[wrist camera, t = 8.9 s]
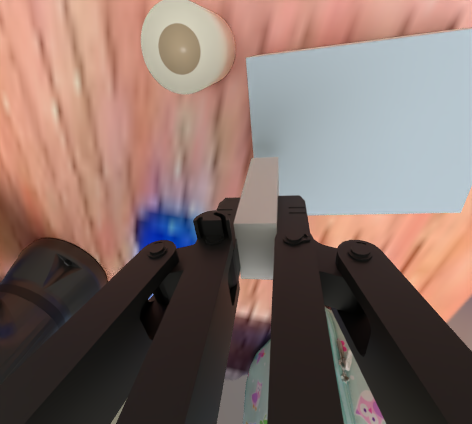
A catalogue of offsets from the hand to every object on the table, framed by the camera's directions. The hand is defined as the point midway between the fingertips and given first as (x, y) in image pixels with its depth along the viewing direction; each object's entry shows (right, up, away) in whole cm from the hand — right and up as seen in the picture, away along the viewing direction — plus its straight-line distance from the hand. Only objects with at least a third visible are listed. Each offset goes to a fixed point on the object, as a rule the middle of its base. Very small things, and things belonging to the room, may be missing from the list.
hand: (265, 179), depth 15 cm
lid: (+7, +4, +4) cm, 9 cm away
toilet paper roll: (-5, +14, +10) cm, 18 cm away
